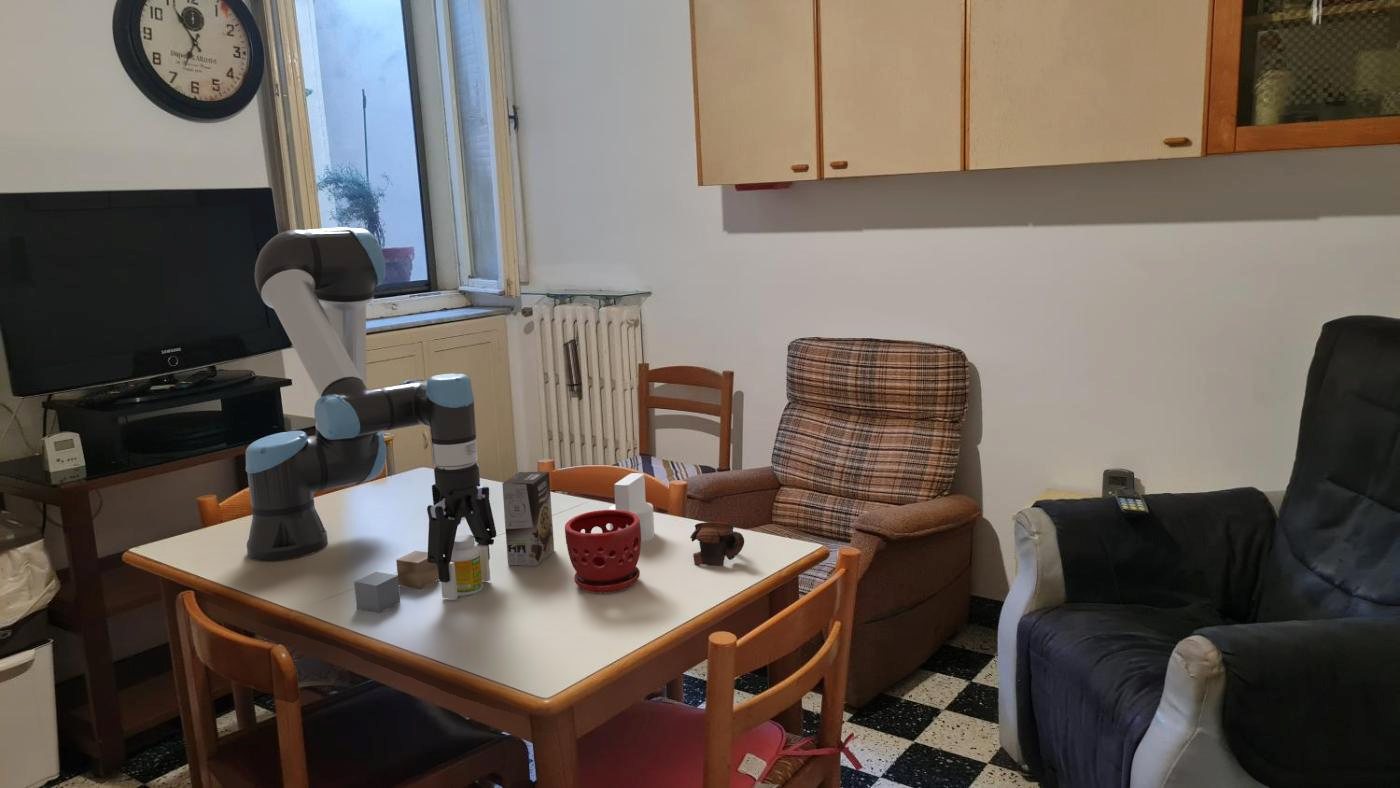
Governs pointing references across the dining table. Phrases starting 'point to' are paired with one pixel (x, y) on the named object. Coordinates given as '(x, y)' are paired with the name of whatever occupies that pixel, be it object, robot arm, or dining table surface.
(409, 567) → the walnut block
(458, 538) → the supplement bottle
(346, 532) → the dining table surface
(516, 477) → the coffee box
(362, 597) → the slate block
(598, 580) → the plant pot
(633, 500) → the base with upright slab
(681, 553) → the dining table surface
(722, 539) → the pottery mug
